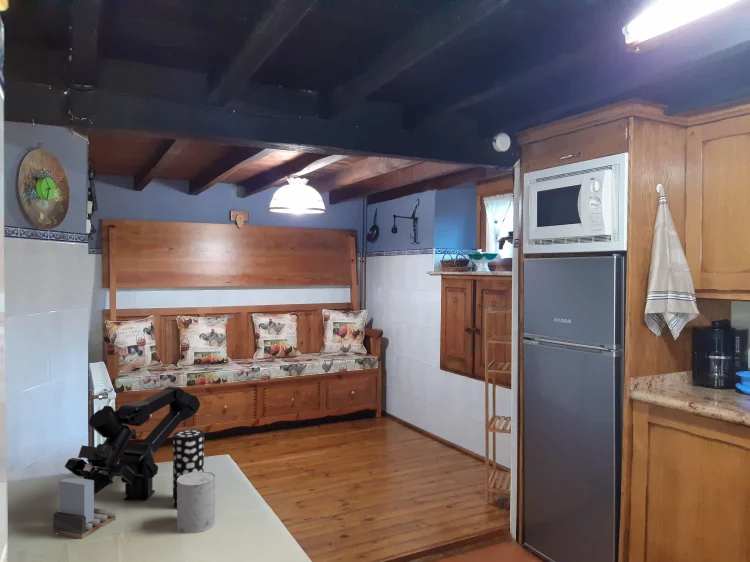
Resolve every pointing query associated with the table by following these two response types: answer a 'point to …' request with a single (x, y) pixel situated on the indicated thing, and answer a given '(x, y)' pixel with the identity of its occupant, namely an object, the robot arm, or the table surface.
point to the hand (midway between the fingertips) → (82, 502)
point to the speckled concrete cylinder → (195, 502)
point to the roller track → (80, 523)
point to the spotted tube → (187, 455)
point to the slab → (77, 497)
